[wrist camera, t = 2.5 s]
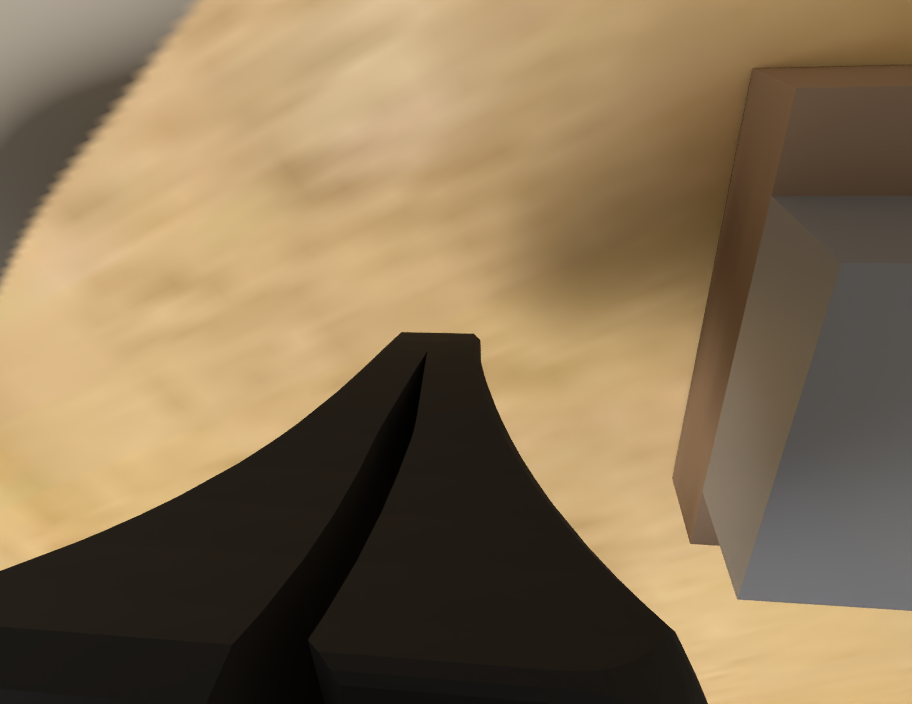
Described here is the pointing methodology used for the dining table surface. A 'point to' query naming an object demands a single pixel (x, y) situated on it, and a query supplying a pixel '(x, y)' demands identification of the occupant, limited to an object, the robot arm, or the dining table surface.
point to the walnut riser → (786, 174)
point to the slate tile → (821, 410)
